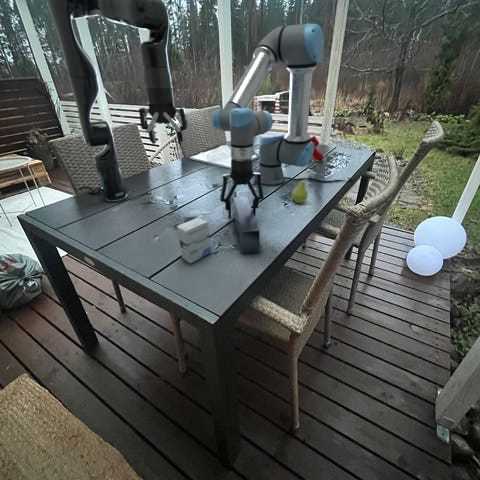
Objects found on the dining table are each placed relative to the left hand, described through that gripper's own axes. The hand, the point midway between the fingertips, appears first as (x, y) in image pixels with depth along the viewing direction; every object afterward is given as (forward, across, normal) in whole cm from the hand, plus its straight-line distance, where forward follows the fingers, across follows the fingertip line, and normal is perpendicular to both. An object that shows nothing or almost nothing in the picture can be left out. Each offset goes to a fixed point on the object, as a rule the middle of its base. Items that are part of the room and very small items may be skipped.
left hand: (167, 143), depth 88 cm
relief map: (+31, +7, +90) cm, 95 cm away
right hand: (+28, +24, +4) cm, 37 cm away
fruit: (+31, +49, +24) cm, 62 cm away
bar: (+31, +26, -4) cm, 40 cm away
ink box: (+31, +10, -19) cm, 38 cm away
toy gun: (+31, +61, +88) cm, 111 cm away
